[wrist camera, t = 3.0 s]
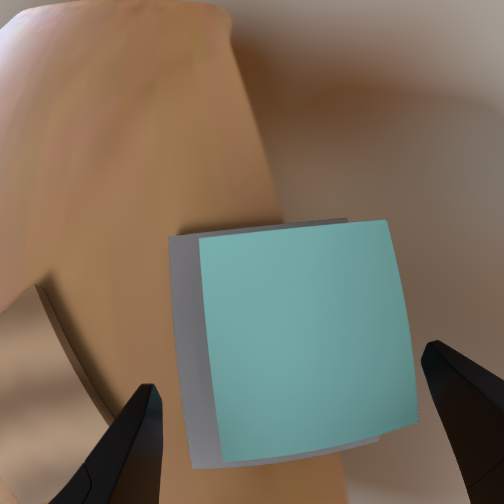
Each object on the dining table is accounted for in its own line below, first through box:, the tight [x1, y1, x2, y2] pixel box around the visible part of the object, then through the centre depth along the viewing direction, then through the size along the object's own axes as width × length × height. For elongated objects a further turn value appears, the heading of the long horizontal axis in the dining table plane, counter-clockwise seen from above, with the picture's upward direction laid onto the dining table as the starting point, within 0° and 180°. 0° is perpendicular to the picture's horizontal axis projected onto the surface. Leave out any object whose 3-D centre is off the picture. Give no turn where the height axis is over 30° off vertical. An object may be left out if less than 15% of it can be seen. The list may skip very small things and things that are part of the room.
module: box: [199, 220, 419, 462], centre depth 12 cm, size 5×4×11 cm
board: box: [0, 284, 114, 504], centre depth 15 cm, size 13×13×1 cm
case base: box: [169, 218, 380, 469], centre depth 16 cm, size 14×11×3 cm
